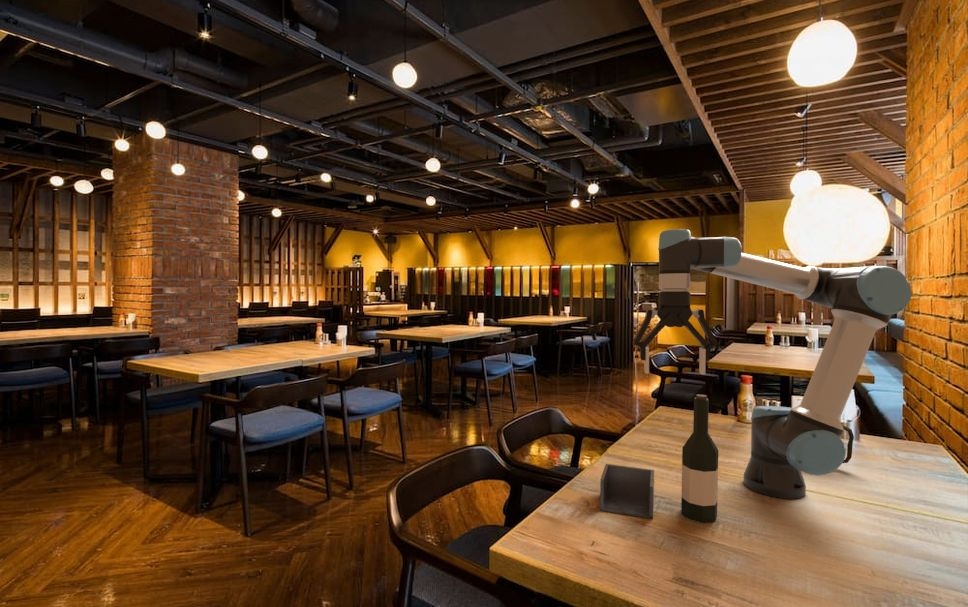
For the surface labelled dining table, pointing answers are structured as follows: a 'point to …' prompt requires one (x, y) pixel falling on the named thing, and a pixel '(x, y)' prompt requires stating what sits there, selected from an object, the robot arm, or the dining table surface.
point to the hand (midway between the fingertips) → (674, 373)
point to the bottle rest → (627, 491)
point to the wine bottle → (700, 468)
